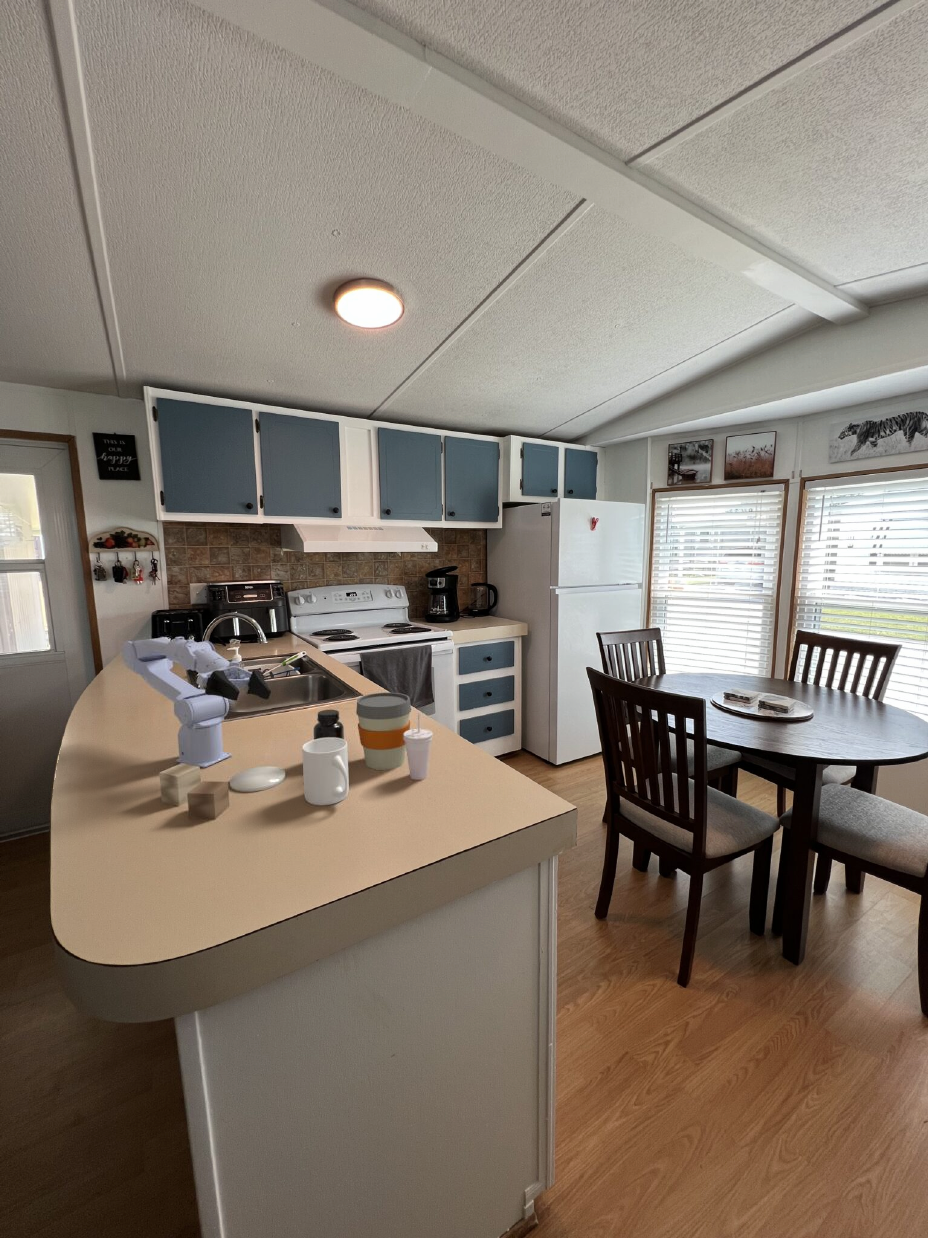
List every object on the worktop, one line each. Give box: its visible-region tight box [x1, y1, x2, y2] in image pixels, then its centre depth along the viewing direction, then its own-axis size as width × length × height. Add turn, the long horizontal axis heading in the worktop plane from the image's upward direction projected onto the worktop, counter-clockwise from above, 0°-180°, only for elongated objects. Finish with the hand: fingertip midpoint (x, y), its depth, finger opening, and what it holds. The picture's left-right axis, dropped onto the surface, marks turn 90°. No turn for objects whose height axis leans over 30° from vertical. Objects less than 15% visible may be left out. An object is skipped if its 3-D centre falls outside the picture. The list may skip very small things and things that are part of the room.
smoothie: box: [403, 712, 434, 781], centre depth 111 cm, size 6×6×14 cm
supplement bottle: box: [313, 709, 345, 740], centre depth 119 cm, size 7×7×12 cm
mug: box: [301, 737, 350, 806], centre depth 100 cm, size 9×12×11 cm
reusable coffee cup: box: [356, 692, 412, 771], centre depth 118 cm, size 13×12×15 cm
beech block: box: [159, 763, 202, 807], centre depth 102 cm, size 5×5×6 cm
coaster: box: [229, 765, 286, 793], centre depth 110 cm, size 11×11×1 cm
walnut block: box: [187, 780, 230, 820], centre depth 96 cm, size 5×5×5 cm
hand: (253, 695), depth 107 cm, fingers open, 7 cm apart
